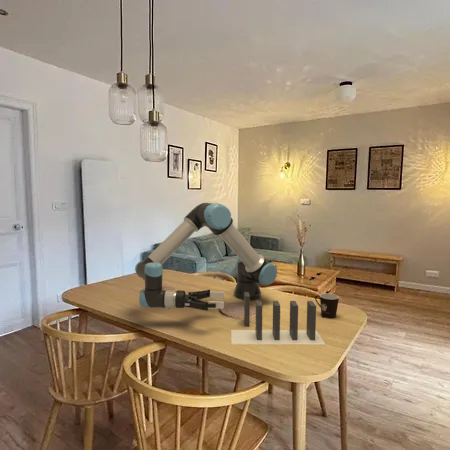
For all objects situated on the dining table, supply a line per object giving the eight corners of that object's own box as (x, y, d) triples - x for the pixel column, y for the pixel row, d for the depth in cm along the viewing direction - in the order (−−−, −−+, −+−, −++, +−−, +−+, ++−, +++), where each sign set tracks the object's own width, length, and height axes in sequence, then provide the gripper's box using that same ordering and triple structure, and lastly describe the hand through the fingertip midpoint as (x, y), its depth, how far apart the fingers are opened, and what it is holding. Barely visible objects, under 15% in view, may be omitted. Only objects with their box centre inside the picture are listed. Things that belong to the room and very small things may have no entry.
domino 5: (310, 340, 128) (311, 305, 127) (306, 333, 134) (307, 300, 133) (315, 340, 128) (316, 305, 127) (311, 333, 134) (312, 300, 133)
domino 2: (256, 340, 128) (257, 305, 127) (255, 333, 134) (255, 300, 133) (261, 340, 128) (262, 305, 127) (260, 333, 134) (260, 300, 133)
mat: (231, 331, 138) (231, 329, 138) (316, 331, 138) (316, 330, 138) (231, 345, 125) (231, 344, 125) (325, 345, 125) (325, 344, 125)
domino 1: (244, 327, 141) (245, 296, 140) (244, 322, 147) (244, 292, 146) (249, 327, 141) (249, 296, 140) (248, 322, 147) (248, 292, 146)
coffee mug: (341, 319, 150) (342, 298, 149) (324, 321, 149) (324, 299, 148) (329, 310, 162) (330, 291, 161) (313, 311, 160) (313, 292, 159)
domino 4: (292, 340, 128) (293, 305, 127) (289, 333, 134) (290, 300, 133) (297, 340, 128) (298, 305, 127) (294, 333, 134) (295, 300, 133)
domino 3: (274, 340, 128) (275, 305, 127) (272, 333, 134) (273, 300, 133) (279, 340, 128) (280, 305, 127) (277, 333, 134) (277, 300, 133)
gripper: (179, 298, 156) (224, 299, 156) (171, 318, 131) (223, 318, 131) (179, 283, 155) (224, 283, 155) (171, 299, 130) (223, 300, 130)
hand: (224, 299), depth 143 cm, fingers open, 13 cm apart
